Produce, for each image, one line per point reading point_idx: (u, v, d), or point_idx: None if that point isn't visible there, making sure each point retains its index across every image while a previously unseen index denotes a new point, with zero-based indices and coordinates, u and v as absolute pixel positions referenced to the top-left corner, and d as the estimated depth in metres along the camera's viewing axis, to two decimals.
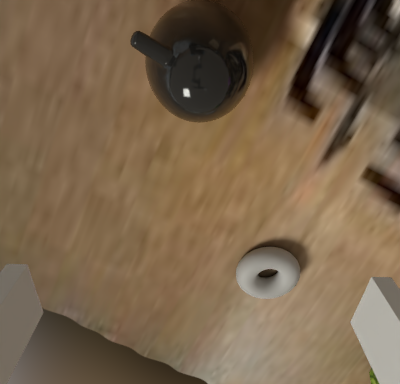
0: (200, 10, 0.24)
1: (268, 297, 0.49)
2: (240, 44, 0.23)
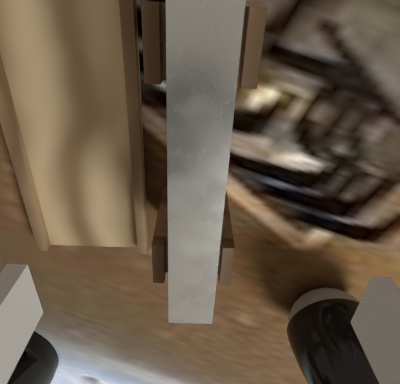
0: (306, 370, 0.33)
1: None
2: (340, 373, 0.30)
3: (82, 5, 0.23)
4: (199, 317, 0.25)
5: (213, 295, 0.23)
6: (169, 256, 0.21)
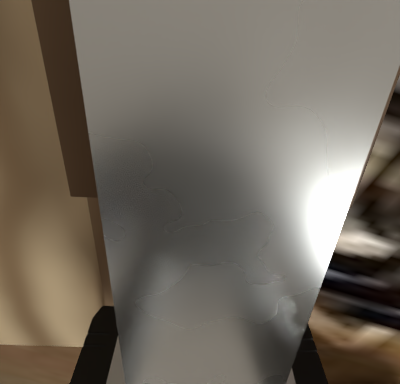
0: None
1: None
2: None
3: None
4: None
5: None
6: None
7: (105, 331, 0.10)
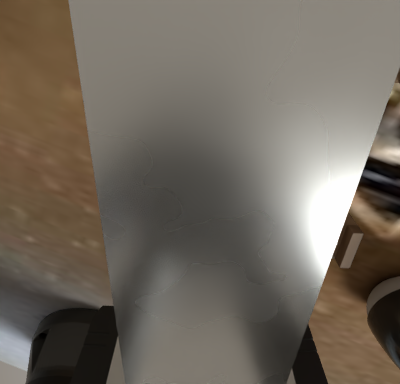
0: (396, 351, 0.35)
1: None
2: None
3: None
4: None
5: None
6: None
7: (105, 331, 0.10)
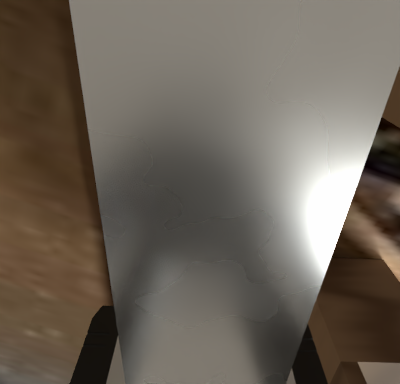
0: None
1: None
2: None
3: None
4: None
5: None
6: None
7: (105, 331, 0.10)
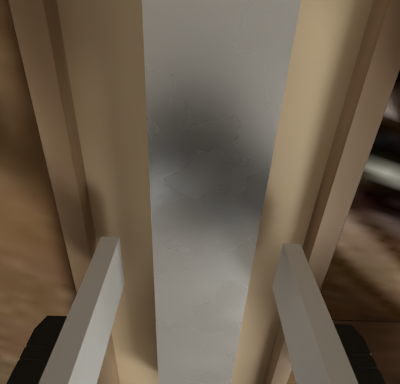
0: None
1: None
2: None
3: None
4: None
5: None
6: (160, 371, 0.14)
7: (45, 343, 0.10)
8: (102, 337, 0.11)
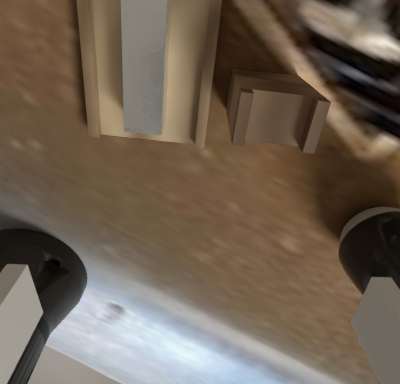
0: (366, 278, 0.31)
1: None
2: None
3: None
4: (150, 126, 0.29)
5: (161, 99, 0.27)
6: (123, 49, 0.25)
7: None
8: None
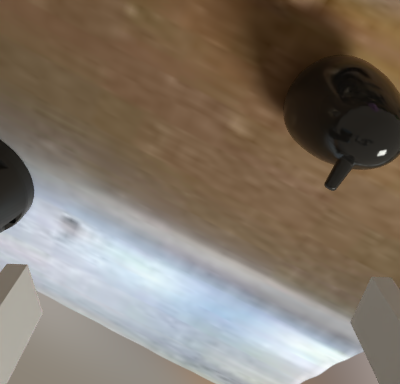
0: (304, 120, 0.29)
1: None
2: (344, 93, 0.26)
3: None
4: None
5: None
6: None
7: None
8: None
